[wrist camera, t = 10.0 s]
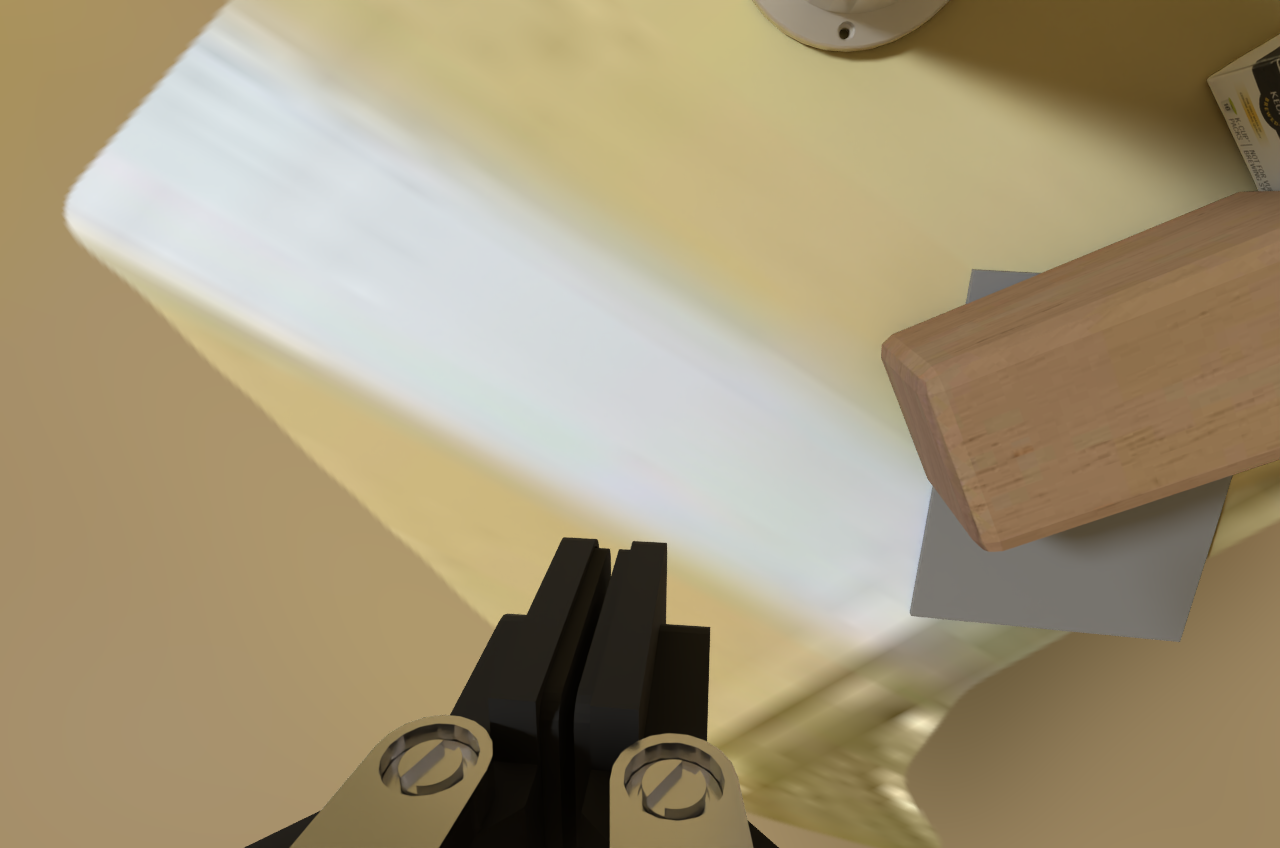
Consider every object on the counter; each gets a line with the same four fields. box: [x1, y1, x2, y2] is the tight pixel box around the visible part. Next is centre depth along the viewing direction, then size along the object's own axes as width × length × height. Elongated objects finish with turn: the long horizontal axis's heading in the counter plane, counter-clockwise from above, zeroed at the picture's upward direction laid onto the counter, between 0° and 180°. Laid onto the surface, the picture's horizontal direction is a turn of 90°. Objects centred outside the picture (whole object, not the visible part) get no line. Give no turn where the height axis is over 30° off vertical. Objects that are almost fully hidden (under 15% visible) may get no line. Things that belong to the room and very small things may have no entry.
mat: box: [910, 269, 1233, 642], centre depth 43 cm, size 22×16×1 cm
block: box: [881, 191, 1280, 552], centre depth 36 cm, size 10×10×20 cm
